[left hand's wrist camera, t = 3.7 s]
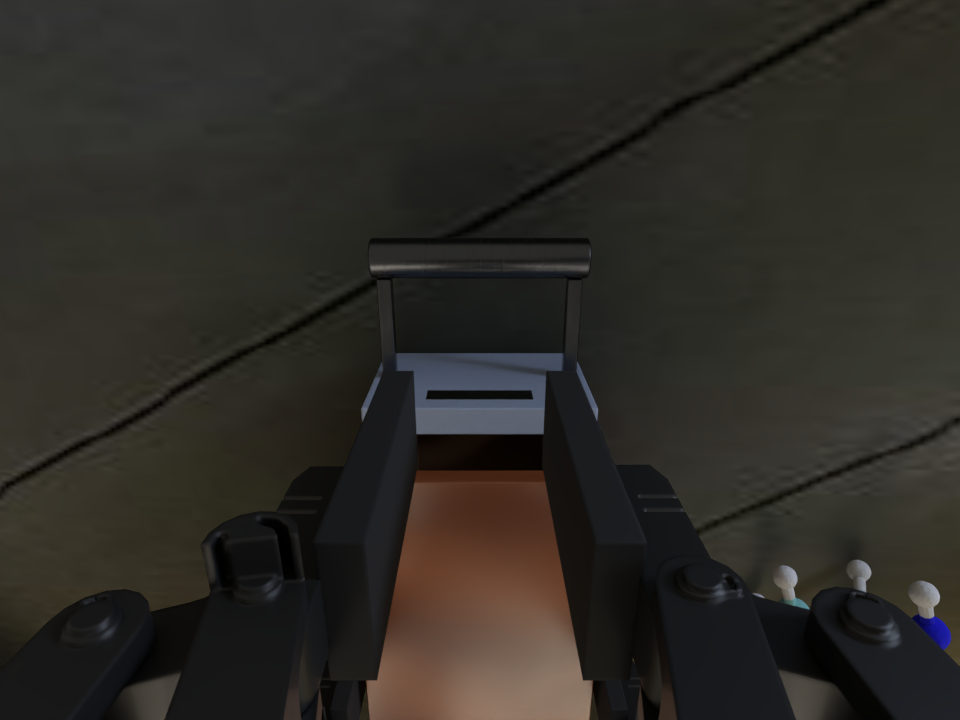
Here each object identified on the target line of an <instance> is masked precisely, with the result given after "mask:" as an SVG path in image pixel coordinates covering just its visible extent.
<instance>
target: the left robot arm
mask: <svg viewBox="0 0 960 720" xmlns="http://www.w3.org/2000/svg"><path fill="white" fill-rule="evenodd" d="M417 467H418V455H417V433H416V411H415V388H414V371H383V373H382V376H381V378H380V381H379V383H378V386H377V388H376V390H375V393H374V395H373V398H372V400H371V402H370V405H369V407H368V410H367V412H366V415H365V417H364V419H363V422H362V424H361V427H360V429H359V432H358V434H357V436H356V439H355V441H354V444H353V446H352V449H351V451H350V453H349V456H348V458H347V461H346V463H345V465H344V467H310V468H308V469H307V470H306V471H305V472H303V473H302V474H301V475H300V476H298V477H297V478H296V479H294V480H293V482H292V483H291V485H290V487H289V489H288V491H287V493H286V494H285V496H284V500H282V502H281V504H280V505H279V507H278V509H277V512H254V513H249V514H244V515H240V516H238V517H235V518H233V519H231V520H228V521H226V522H224V523H222V524H221V525H219V526H218V527H217V528H215V529H214V530H212V531H211V532H210V533H209V534H208V535H207V537H206V538H205V539H204V541H203V542H202V543H201V549H202V553H203V558H204V563H205V567H206V572H207V576H208V581H209V586H210V590H211V592H210V594H209V596H207V597H205V598H203V599H199V600H196V601H193V602H190V603H186V604H181V605H177V606H173V607H169V608H164V609H160V610H156V611H152V612H151V611H150V607H149V603H148V601H147V600H146V599H145V598H144V597H143V596H142V595H141V594H140V593H138V592H134V591H130V590H126V589H123V590H112V591H105V592H101V593H98V594H95V595H92V596H89V597H85V598H84V599H82V600H80V601H78V602H76V603H74V604H72V605H70V606H68V607H66V608H65V609H63V610H62V611H61V612H60V613H58V614H57V615H56V616H55V617H53V618H52V619H51V620H50V621H49V622H47V623H46V624H45V625H44V626H43V627H42V628H41V629H40V630H39V631H38V633H37V634H36V635H35V636H34V637H33V638H32V639H31V640H30V641H29V642H28V643H27V644H26V645H25V646H24V647H23V648H22V649H21V650H20V651H19V652H18V653H17V654H16V655H15V656H14V657H13V658H12V659H11V660H10V661H9V662H8V663H7V664H6V665H5V666H4V667H3V668H2V669H1V670H0V720H321V717H322V700H321V693H320V686H319V684H320V681H321V678H322V674H323V671H324V667H325V664H326V661H327V659H328V666H329V674H330V680H377V678H378V673H379V668H380V663H381V657H382V652H383V647H384V641H385V636H386V631H387V626H388V620H389V615H390V610H391V605H392V599H393V594H394V589H395V583H396V578H397V573H398V568H399V562H400V557H401V552H402V546H403V541H404V536H405V531H406V525H407V520H408V515H409V509H410V504H411V499H412V494H413V488H414V483H415V478H416V472H417ZM542 467H543V473H544V478H545V483H546V488H547V494H548V499H549V504H550V510H551V515H552V520H553V525H554V531H555V536H556V541H557V546H558V552H559V557H560V562H561V568H562V573H563V578H564V583H565V589H566V594H567V599H568V605H569V610H570V615H571V620H572V626H573V631H574V636H575V642H576V647H577V652H578V657H579V663H580V668H581V673H582V679H583V680H630V674H631V666H632V658H634V661H635V665H636V668H637V671H638V675H639V678H640V682H641V686H640V693H639V700H638V707H637V715H636V720H960V667H959V665H958V664H957V663H956V662H955V661H954V660H953V659H952V658H951V657H950V656H949V655H948V654H947V653H946V652H945V651H944V650H943V649H942V648H941V647H940V646H939V645H938V644H937V643H936V642H935V641H934V640H933V639H932V638H931V637H930V636H929V635H928V634H927V633H926V632H925V631H924V630H923V629H922V628H921V627H920V626H919V625H918V624H917V623H916V622H915V621H914V620H913V619H912V618H910V617H909V616H908V615H907V614H905V613H904V612H903V611H902V610H900V609H899V608H898V607H897V606H895V605H893V604H891V603H889V602H888V601H886V600H884V599H882V598H880V597H878V596H876V595H873V594H870V593H867V592H864V591H861V590H857V589H853V588H842V587H833V588H829V589H825V590H821V591H820V592H819V593H818V594H817V595H816V596H815V597H814V598H813V600H812V603H811V607H810V609H806V608H802V607H797V606H793V605H789V604H784V603H780V602H776V601H772V600H768V599H765V598H762V597H759V596H756V595H754V594H751V593H750V591H749V589H748V587H747V586H746V584H745V583H744V581H743V579H742V578H741V577H740V576H739V575H737V574H736V573H735V572H734V571H733V570H731V569H730V568H729V567H727V566H725V565H723V564H721V563H719V562H717V561H715V560H713V559H711V558H710V556H709V554H708V552H707V550H706V549H705V547H704V545H703V543H702V541H701V540H700V538H699V536H698V534H697V532H696V530H695V529H694V527H693V525H692V523H691V521H690V519H689V518H688V516H687V514H686V512H684V508H683V507H682V505H681V503H680V501H679V499H678V498H676V494H675V492H674V490H673V488H672V487H671V485H670V483H669V481H668V479H667V478H666V477H664V476H663V475H662V474H660V473H659V472H658V471H657V470H655V469H654V468H653V467H652V466H650V465H615V463H614V461H613V458H612V456H611V453H610V451H609V449H608V446H607V444H606V441H605V439H604V436H603V434H602V432H601V429H600V427H599V424H598V422H597V419H596V417H595V415H594V412H593V410H592V407H591V405H590V402H589V400H588V398H587V395H586V393H585V390H584V388H583V386H582V383H581V381H580V378H579V376H578V373H577V371H546V388H545V410H544V433H543V455H542Z"/></svg>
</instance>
